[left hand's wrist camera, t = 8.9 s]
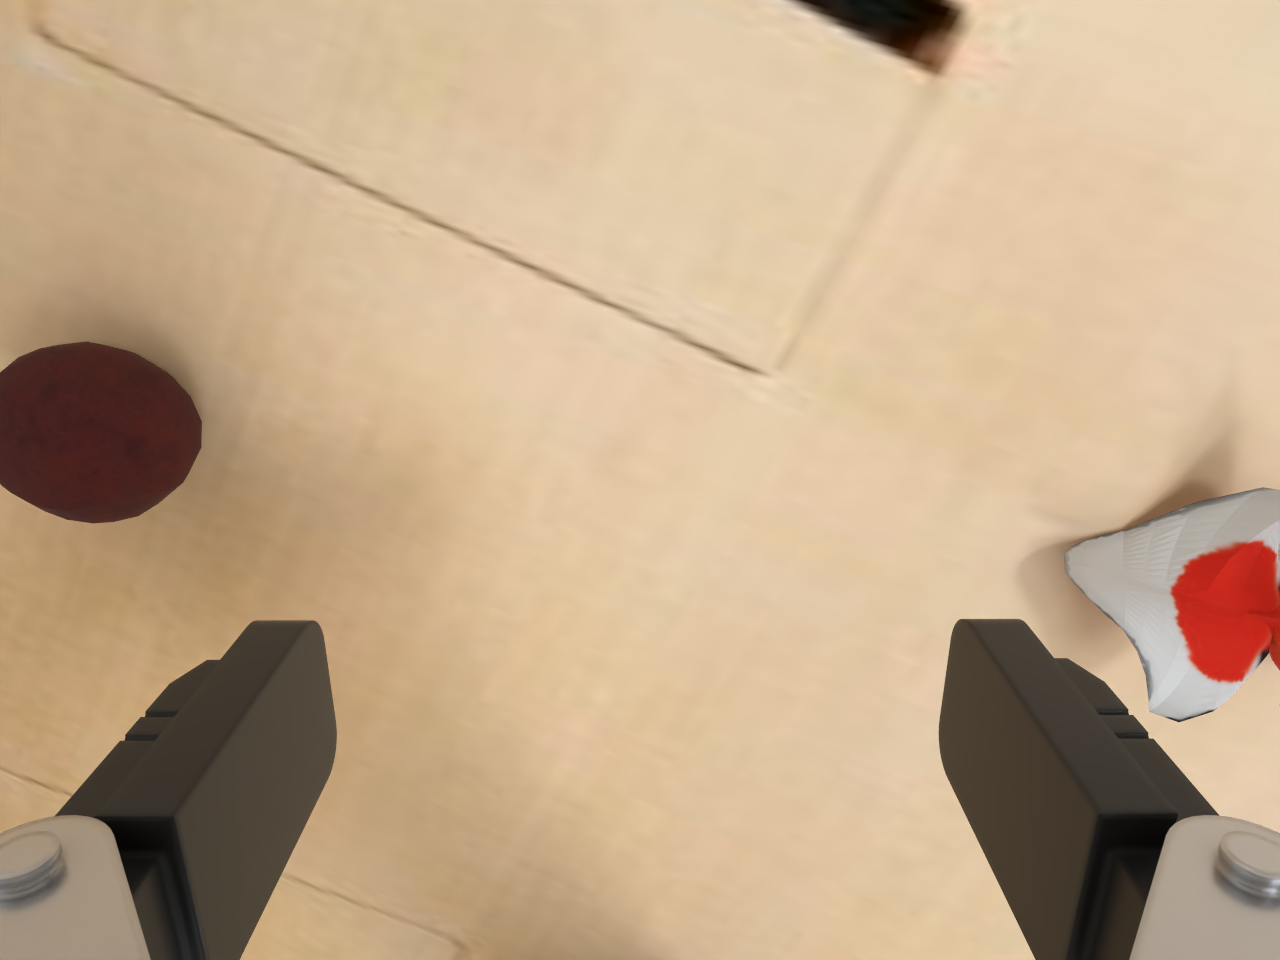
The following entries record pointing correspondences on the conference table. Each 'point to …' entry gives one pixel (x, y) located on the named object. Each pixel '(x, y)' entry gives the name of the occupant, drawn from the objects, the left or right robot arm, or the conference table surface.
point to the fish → (1192, 596)
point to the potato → (94, 432)
